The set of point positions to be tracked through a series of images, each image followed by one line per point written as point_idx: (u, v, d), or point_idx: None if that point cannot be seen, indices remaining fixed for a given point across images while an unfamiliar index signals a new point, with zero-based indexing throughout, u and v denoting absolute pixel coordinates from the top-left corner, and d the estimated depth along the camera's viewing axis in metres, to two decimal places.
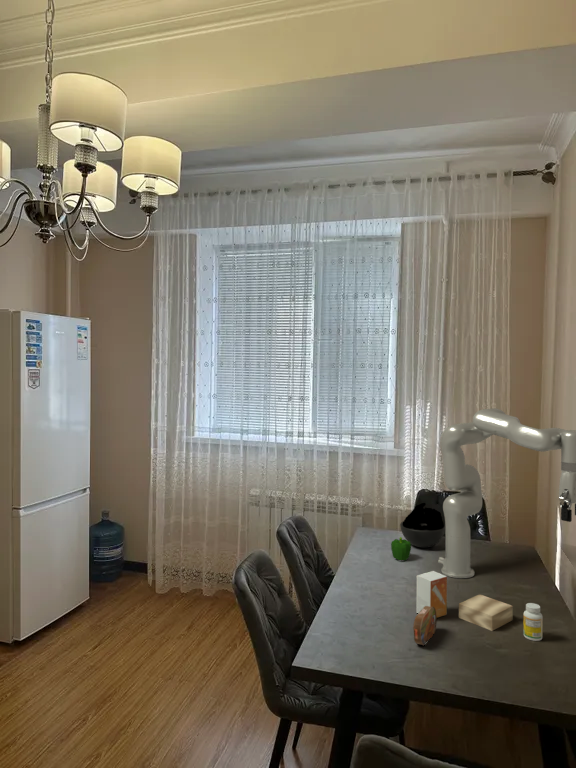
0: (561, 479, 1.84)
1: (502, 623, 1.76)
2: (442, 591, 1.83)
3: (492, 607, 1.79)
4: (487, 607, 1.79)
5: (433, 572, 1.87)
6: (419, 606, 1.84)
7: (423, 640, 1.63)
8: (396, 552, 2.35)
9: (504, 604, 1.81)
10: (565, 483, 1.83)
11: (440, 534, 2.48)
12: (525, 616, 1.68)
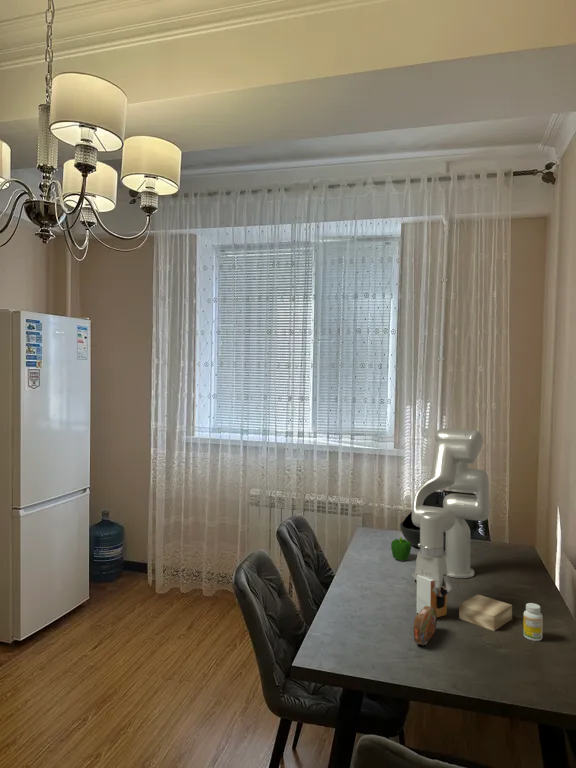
0: (440, 566, 1.79)
1: (503, 623, 1.77)
2: None
3: (493, 607, 1.79)
4: (488, 607, 1.79)
5: None
6: (419, 606, 1.84)
7: (423, 640, 1.63)
8: (396, 552, 2.35)
9: (503, 603, 1.81)
10: (443, 568, 1.80)
11: None
12: (525, 616, 1.68)
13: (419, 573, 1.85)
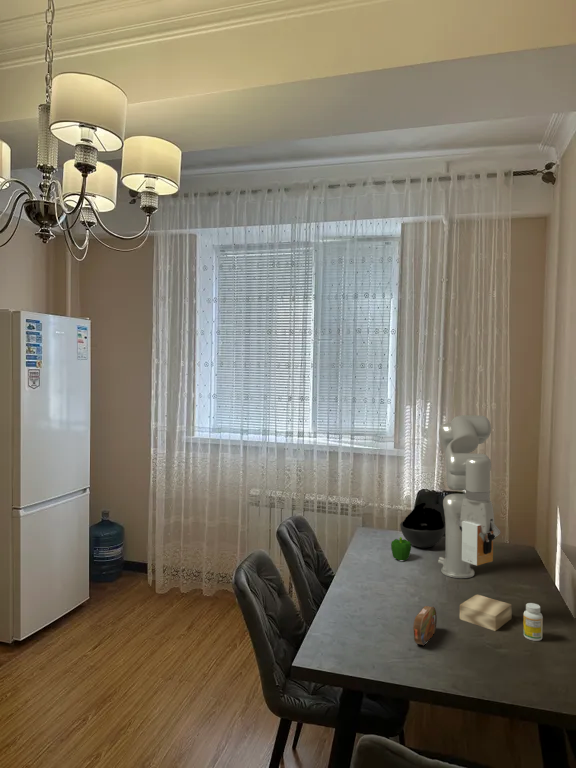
0: (487, 510, 1.76)
1: (503, 622, 1.77)
2: None
3: (493, 607, 1.79)
4: (488, 607, 1.79)
5: None
6: (465, 552, 1.80)
7: (423, 640, 1.63)
8: (396, 552, 2.35)
9: (503, 603, 1.82)
10: (490, 513, 1.77)
11: (440, 534, 2.48)
12: (525, 616, 1.68)
13: (465, 519, 1.81)
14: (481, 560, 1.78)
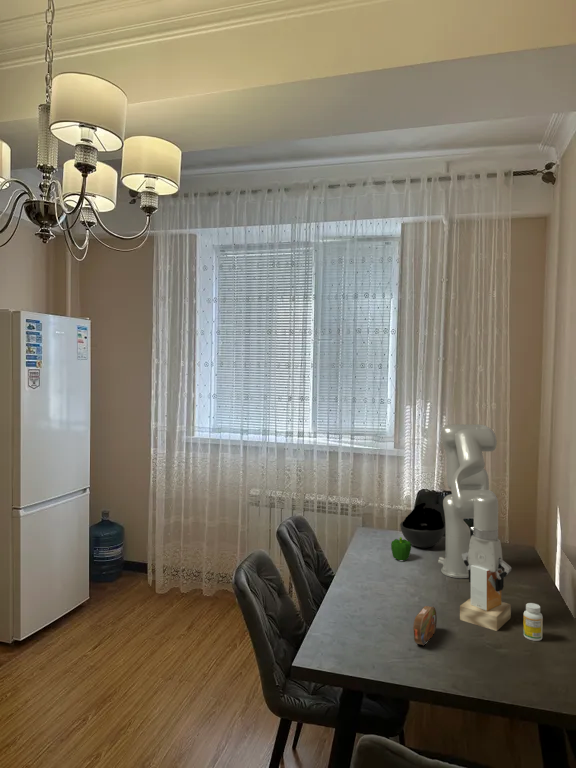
0: (495, 549, 1.76)
1: (503, 622, 1.77)
2: None
3: None
4: None
5: None
6: (474, 597, 1.80)
7: (423, 640, 1.63)
8: (396, 552, 2.35)
9: (502, 603, 1.82)
10: (499, 552, 1.77)
11: (440, 534, 2.48)
12: (525, 616, 1.68)
13: (473, 557, 1.81)
14: (490, 605, 1.77)
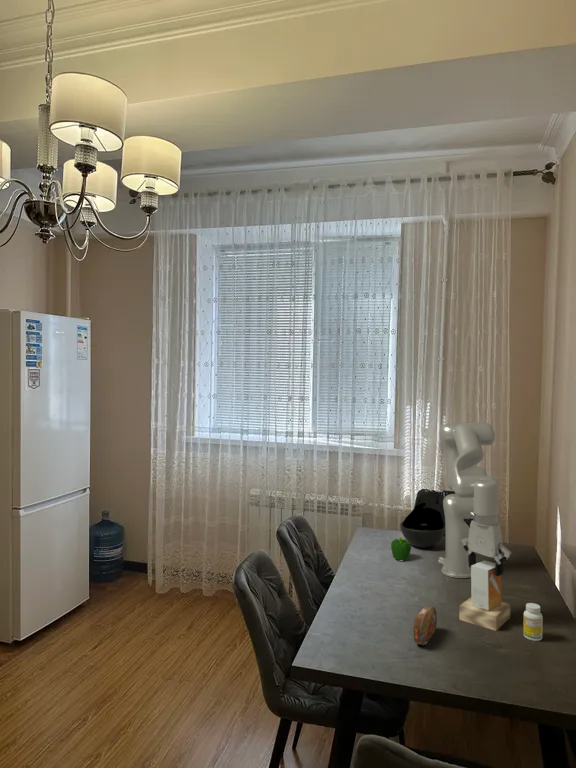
0: (495, 534, 1.76)
1: (503, 622, 1.77)
2: (498, 580, 1.80)
3: None
4: None
5: (485, 562, 1.84)
6: (475, 597, 1.79)
7: (423, 640, 1.63)
8: (396, 552, 2.35)
9: (502, 603, 1.82)
10: (498, 537, 1.77)
11: (440, 534, 2.48)
12: (525, 616, 1.68)
13: (473, 542, 1.81)
14: (491, 605, 1.77)
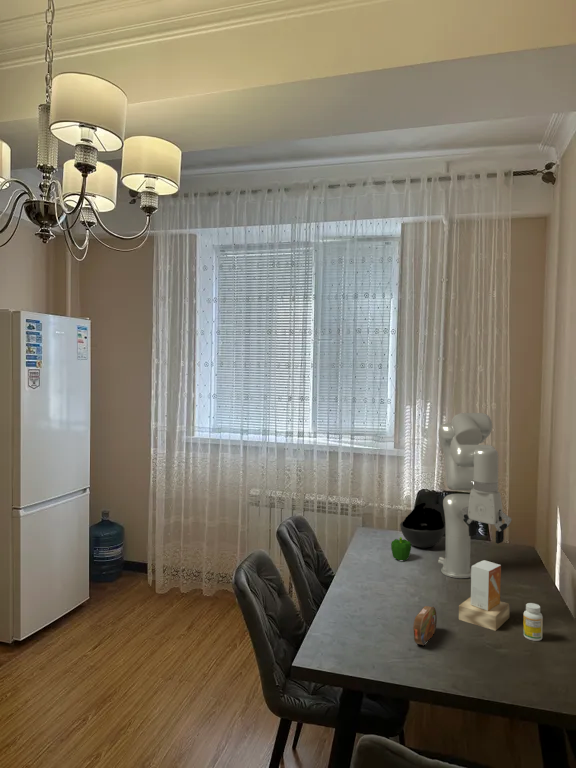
0: (495, 501, 1.75)
1: (502, 622, 1.77)
2: (497, 580, 1.80)
3: None
4: None
5: (485, 561, 1.83)
6: (474, 597, 1.79)
7: (423, 640, 1.63)
8: (396, 552, 2.35)
9: (501, 602, 1.82)
10: (499, 504, 1.76)
11: (440, 534, 2.48)
12: (525, 616, 1.68)
13: (473, 510, 1.81)
14: (491, 605, 1.77)
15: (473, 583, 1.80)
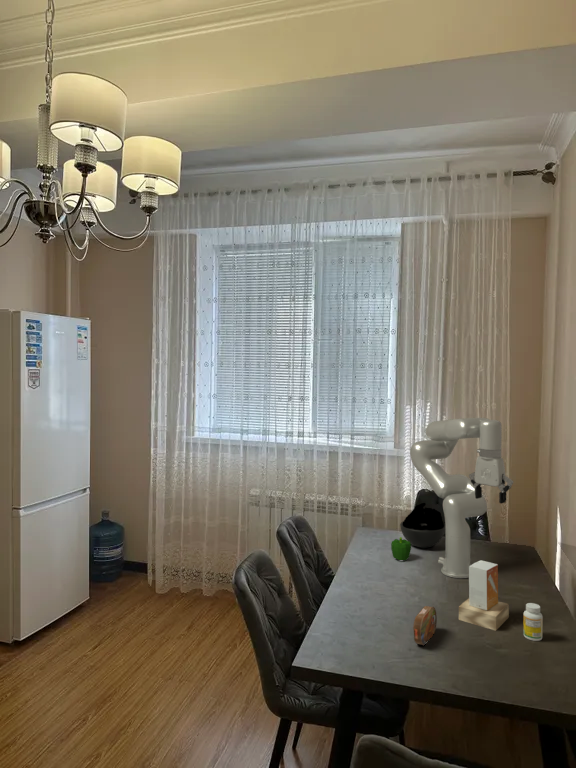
0: (499, 466, 1.98)
1: (502, 622, 1.77)
2: (495, 579, 1.80)
3: (491, 607, 1.79)
4: None
5: (482, 561, 1.84)
6: (473, 597, 1.80)
7: (423, 640, 1.63)
8: (396, 552, 2.35)
9: (500, 603, 1.82)
10: (502, 468, 1.99)
11: (440, 534, 2.48)
12: (525, 616, 1.68)
13: (479, 475, 2.04)
14: (489, 604, 1.78)
15: (471, 583, 1.80)
